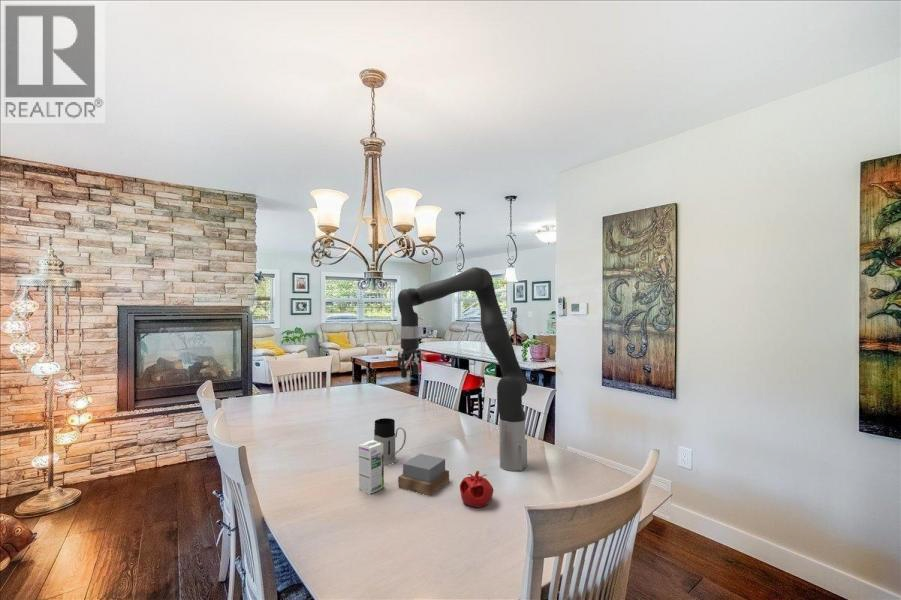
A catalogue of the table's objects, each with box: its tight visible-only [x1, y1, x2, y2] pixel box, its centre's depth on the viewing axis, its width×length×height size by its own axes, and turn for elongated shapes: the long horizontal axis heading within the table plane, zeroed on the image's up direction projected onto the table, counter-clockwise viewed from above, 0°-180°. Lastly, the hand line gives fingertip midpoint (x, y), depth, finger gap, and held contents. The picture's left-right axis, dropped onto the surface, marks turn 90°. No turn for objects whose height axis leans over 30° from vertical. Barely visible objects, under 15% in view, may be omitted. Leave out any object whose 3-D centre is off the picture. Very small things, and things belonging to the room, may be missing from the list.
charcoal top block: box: [402, 453, 446, 482], centre depth 131 cm, size 10×10×4 cm
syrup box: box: [357, 439, 385, 495], centre depth 128 cm, size 6×6×14 cm
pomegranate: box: [459, 470, 494, 508], centre depth 120 cm, size 10×10×9 cm
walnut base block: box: [397, 469, 450, 497], centre depth 131 cm, size 12×12×4 cm
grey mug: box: [373, 417, 407, 466], centre depth 150 cm, size 9×14×15 cm, turn 59°
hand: (409, 376), depth 167 cm, fingers open, 8 cm apart
